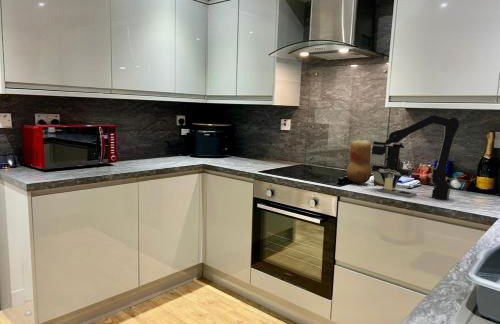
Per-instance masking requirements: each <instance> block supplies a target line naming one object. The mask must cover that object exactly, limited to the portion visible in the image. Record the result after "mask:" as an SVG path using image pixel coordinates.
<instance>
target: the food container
mask: <svg viewBox="0 0 500 324" xmlns="http://www.w3.org/2000/svg"><path fill="white" fill-rule="evenodd" d="M379 171H380V170H378V171H372V173H373V187H377V186H379V187H382V188H384V185H385V184H384V182H383V179H382V177H381V175H380V173H379ZM387 172H389V171H387ZM394 175H396V173H395V172H389V174H388V178H394Z"/></svg>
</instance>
